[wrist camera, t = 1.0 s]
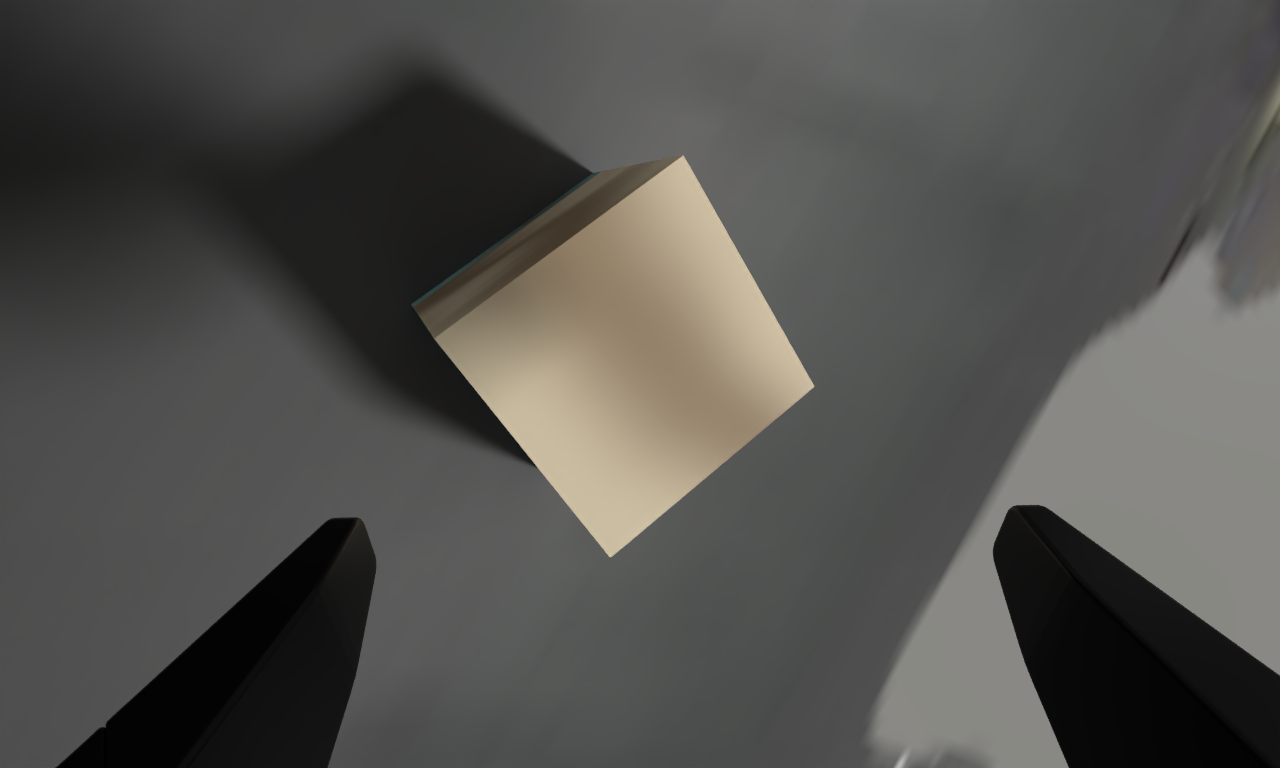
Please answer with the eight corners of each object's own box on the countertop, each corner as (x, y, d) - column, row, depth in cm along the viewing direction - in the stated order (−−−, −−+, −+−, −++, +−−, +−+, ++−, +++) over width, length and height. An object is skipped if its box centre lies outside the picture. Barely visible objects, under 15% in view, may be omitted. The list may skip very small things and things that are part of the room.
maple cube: (543, 469, 21) (610, 557, 16) (410, 303, 19) (433, 338, 13) (700, 345, 22) (814, 386, 16) (592, 173, 20) (683, 155, 14)
